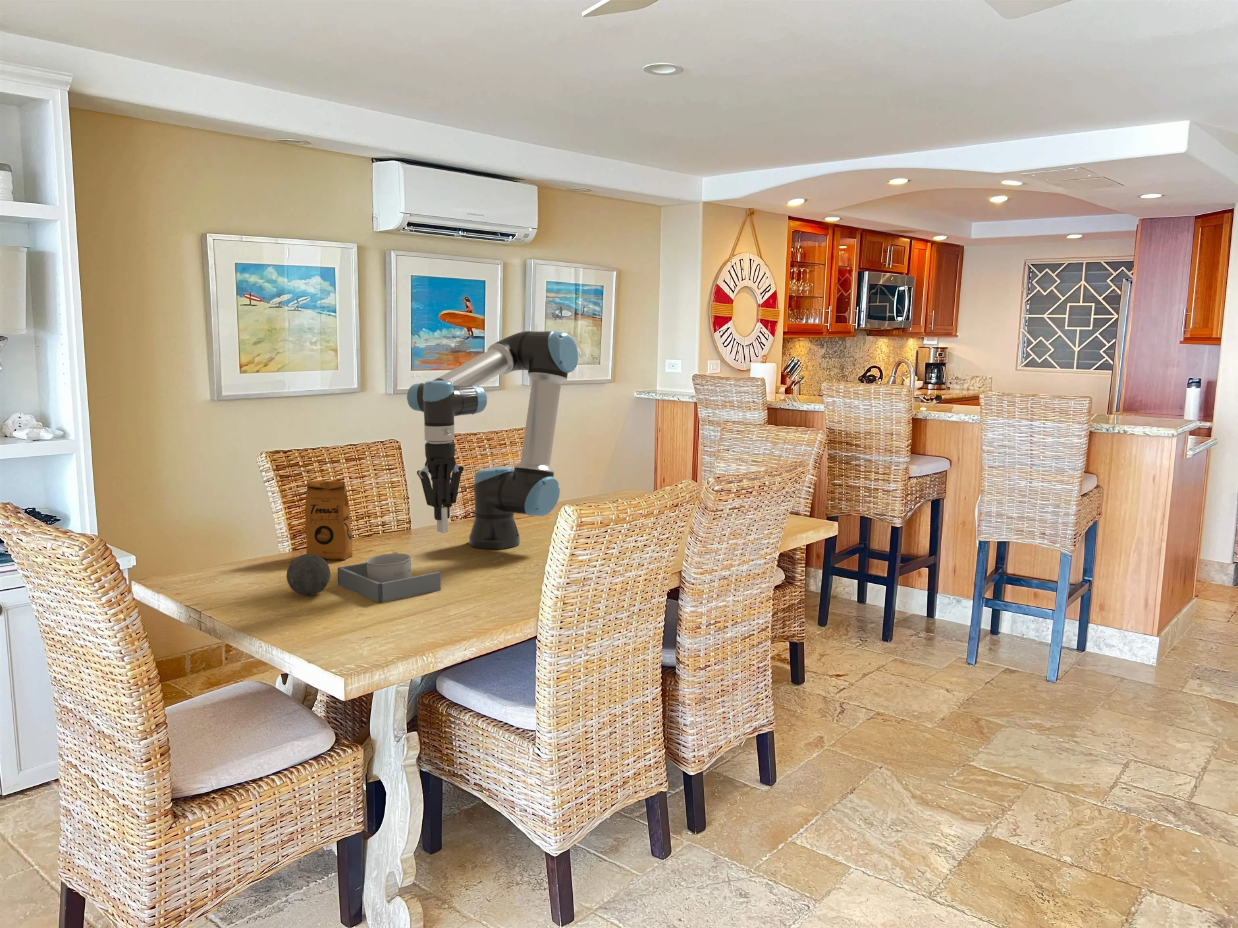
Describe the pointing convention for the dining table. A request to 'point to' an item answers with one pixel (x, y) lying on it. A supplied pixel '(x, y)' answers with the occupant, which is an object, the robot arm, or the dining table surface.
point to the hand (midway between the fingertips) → (442, 531)
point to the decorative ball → (308, 574)
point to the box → (386, 584)
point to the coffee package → (328, 520)
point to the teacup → (389, 567)
